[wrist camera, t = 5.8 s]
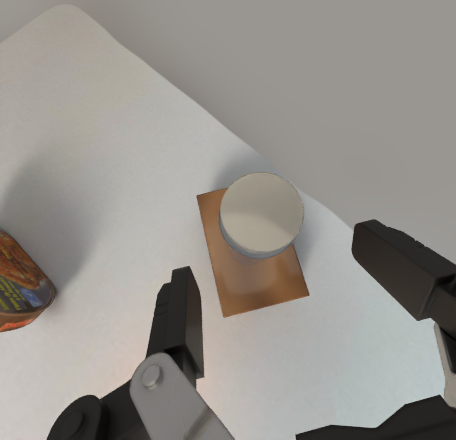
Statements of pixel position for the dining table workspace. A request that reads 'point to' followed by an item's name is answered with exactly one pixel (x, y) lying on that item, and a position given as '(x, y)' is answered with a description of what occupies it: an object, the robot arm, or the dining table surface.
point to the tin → (21, 287)
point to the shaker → (259, 217)
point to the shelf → (248, 268)
